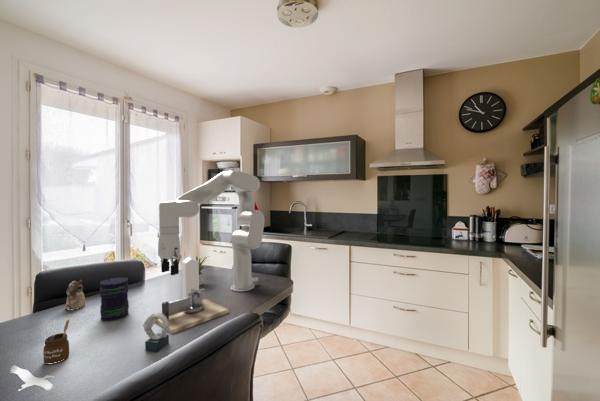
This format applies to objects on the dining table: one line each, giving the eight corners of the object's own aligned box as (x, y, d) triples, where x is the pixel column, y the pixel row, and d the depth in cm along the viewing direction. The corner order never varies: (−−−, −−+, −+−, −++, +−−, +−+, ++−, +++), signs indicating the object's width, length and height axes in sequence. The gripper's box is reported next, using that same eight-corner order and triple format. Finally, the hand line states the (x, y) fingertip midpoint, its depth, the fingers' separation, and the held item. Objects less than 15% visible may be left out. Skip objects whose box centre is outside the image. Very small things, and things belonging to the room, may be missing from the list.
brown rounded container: (51, 355, 87) (50, 317, 87) (74, 352, 89) (73, 315, 88) (38, 366, 81) (37, 326, 81) (63, 363, 83) (62, 324, 83)
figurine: (63, 307, 124) (63, 281, 124) (83, 302, 129) (83, 277, 129) (66, 312, 119) (65, 284, 119) (86, 307, 125) (86, 280, 124)
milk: (186, 304, 128) (185, 256, 127) (182, 300, 132) (181, 254, 132) (199, 301, 131) (198, 254, 130) (195, 297, 136) (194, 252, 135)
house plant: (201, 278, 167) (201, 251, 166) (216, 282, 159) (216, 254, 158) (179, 284, 155) (179, 255, 155) (194, 289, 147) (193, 259, 147)
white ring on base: (153, 341, 95) (152, 309, 95) (173, 344, 93) (172, 311, 93) (140, 350, 90) (139, 316, 90) (161, 353, 88) (160, 319, 88)
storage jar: (134, 312, 118) (133, 278, 118) (112, 323, 109) (111, 285, 109) (117, 309, 122) (116, 276, 121) (94, 319, 112) (93, 282, 112)
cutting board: (206, 301, 130) (206, 296, 130) (228, 312, 118) (228, 307, 118) (151, 319, 112) (151, 313, 112) (171, 334, 100) (171, 327, 100)
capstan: (199, 303, 123) (199, 286, 123) (209, 308, 118) (209, 290, 118) (158, 317, 110) (157, 297, 110) (166, 323, 105) (166, 303, 104)
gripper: (150, 230, 118) (150, 271, 118) (171, 233, 108) (172, 278, 108) (167, 228, 124) (168, 267, 124) (189, 231, 114) (189, 274, 114)
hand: (170, 272), depth 116 cm, fingers open, 6 cm apart
